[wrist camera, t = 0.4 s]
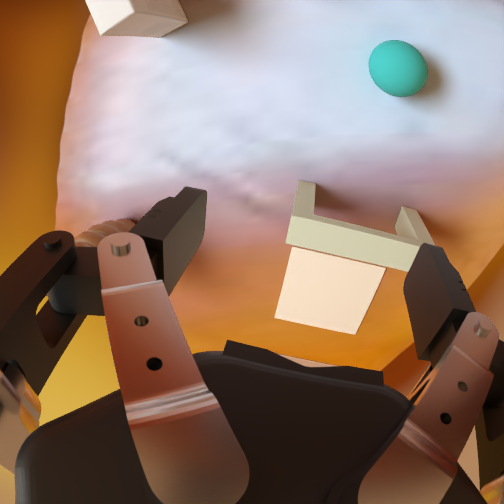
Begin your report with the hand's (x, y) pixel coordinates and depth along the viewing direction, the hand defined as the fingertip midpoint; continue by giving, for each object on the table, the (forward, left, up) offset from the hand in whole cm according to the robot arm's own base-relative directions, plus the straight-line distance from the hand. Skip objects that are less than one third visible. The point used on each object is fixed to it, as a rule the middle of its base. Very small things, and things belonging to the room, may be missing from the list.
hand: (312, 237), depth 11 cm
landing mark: (+23, +7, -26) cm, 36 cm away
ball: (-8, +7, -23) cm, 26 cm away
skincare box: (-11, -19, -27) cm, 35 cm away
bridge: (+9, +7, -26) cm, 29 cm away
